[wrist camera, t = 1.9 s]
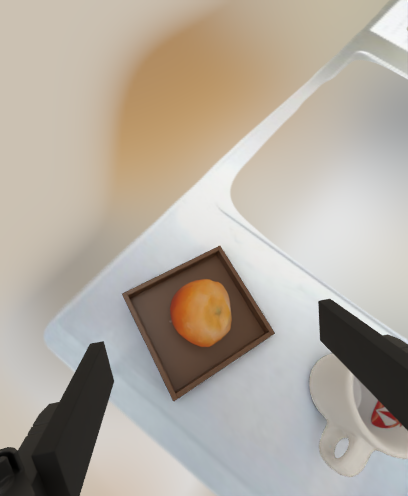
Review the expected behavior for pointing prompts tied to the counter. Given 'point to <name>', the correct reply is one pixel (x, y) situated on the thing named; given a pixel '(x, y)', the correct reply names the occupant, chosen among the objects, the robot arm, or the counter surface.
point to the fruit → (201, 312)
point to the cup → (352, 418)
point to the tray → (178, 348)
